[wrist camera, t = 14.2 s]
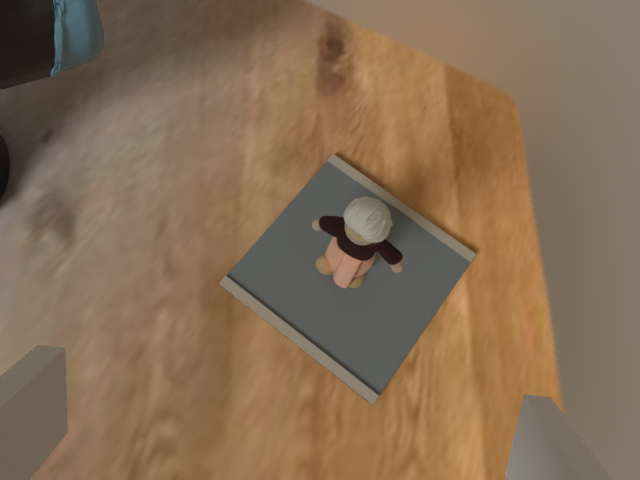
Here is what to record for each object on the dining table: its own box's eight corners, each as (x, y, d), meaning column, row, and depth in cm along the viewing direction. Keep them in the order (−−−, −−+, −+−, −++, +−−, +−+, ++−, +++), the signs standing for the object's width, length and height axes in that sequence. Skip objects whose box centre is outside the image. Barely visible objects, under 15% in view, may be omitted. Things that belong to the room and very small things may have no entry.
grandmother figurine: (298, 276, 44) (303, 221, 32) (312, 237, 45) (321, 169, 33) (384, 304, 43) (421, 258, 31) (395, 263, 45) (435, 205, 33)
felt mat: (220, 284, 43) (219, 282, 43) (332, 157, 48) (332, 153, 48) (371, 404, 41) (373, 404, 40) (473, 256, 46) (476, 254, 45)
